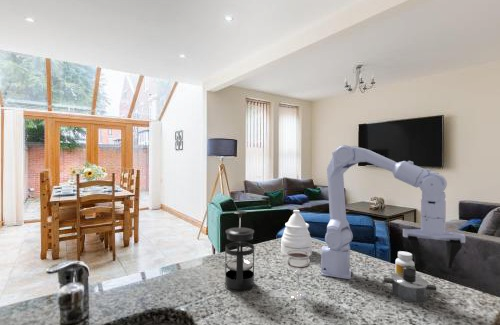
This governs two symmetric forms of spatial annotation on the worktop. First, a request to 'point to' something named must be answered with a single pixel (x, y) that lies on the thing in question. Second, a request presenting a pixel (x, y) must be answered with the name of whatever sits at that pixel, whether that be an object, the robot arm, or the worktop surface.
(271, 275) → the worktop surface
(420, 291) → the pot
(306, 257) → the wineglass
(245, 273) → the french press
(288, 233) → the honey pot
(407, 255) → the supplement bottle
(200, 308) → the worktop surface
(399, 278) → the lid
